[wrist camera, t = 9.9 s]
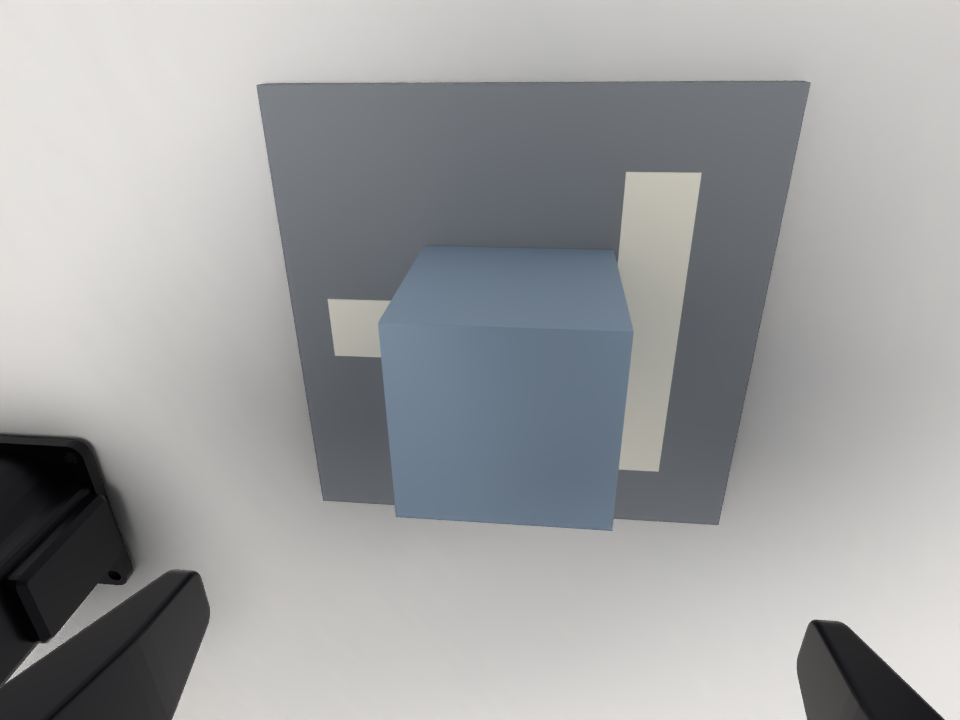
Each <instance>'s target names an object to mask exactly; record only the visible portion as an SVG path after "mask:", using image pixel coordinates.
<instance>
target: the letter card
mask: <svg viewBox="0 0 960 720" xmlns="http://www.w3.org/2000/svg"><path fill="white" fill-rule="evenodd" d="M809 87H810V82H806V81H680V82H480V83H279V84H260V85H257V92H258V98H259V104H260V110H261V117H262V123H263V129H264V135H265V141H266V148H267V154H268V160H269V166H270V173H271V179H272V185H273V191H274V197H275V204H276V210H277V216H278V222H279V228H280V235H281V241H282V247H283V253H284V260H285V266H286V272H287V278H288V284H289V291H290V297H291V303H292V309H293V315H294V322H295V328H296V334H297V340H298V347H299V353H300V359H301V365H302V371H303V378H304V384H305V390H306V396H307V402H308V409H309V415H310V421H311V427H312V434H313V440H314V446H315V452H316V458H317V465H318V471H319V477H320V483H321V490H322V496H323V501H340V502H356V503H372V504H388V505H395V499H394V489H393V478H392V468H391V457H390V446H389V436H388V425H387V415H386V404H385V393H384V383H383V372H382V362H381V351H380V340H379V330H378V322H379V320H380V318H381V317H382V315H383V313H384V312H385V310H386V308H387V307H388V305H389V303H390V302H391V300H392V298H393V297H394V295H395V293H396V292H397V290H398V288H399V287H400V285H401V283H402V282H403V280H404V278H405V277H406V275H407V273H408V272H409V270H410V268H411V266H412V265H413V263H414V261H415V260H416V258H417V256H418V255H419V253H420V251H421V250H422V248H423V246H461V247H508V248H555V249H602V250H614V253H615V257H616V261H617V265H618V269H619V273H620V277H621V282H622V286H623V290H624V294H625V298H626V302H627V306H628V310H629V314H630V318H631V322H632V326H633V331H634V334H633V343H632V352H631V361H630V370H629V379H628V389H627V398H626V407H625V416H624V425H623V434H622V443H621V453H620V462H619V471H618V480H617V489H616V498H615V508H614V517H613V519H630V520H646V521H662V522H678V523H694V524H710V525H718V524H719V519H720V514H721V510H722V505H723V500H724V495H725V490H726V486H727V481H728V476H729V471H730V466H731V462H732V457H733V452H734V447H735V442H736V438H737V433H738V428H739V423H740V418H741V414H742V409H743V404H744V399H745V394H746V390H747V385H748V380H749V375H750V370H751V366H752V361H753V356H754V351H755V346H756V342H757V337H758V332H759V327H760V322H761V318H762V313H763V308H764V303H765V298H766V294H767V289H768V284H769V279H770V274H771V270H772V265H773V260H774V255H775V250H776V246H777V241H778V236H779V231H780V226H781V222H782V217H783V212H784V207H785V202H786V198H787V193H788V188H789V183H790V178H791V174H792V169H793V164H794V159H795V154H796V150H797V145H798V140H799V135H800V130H801V126H802V121H803V116H804V111H805V106H806V102H807V97H808V92H809Z"/></svg>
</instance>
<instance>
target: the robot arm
mask: <svg viewBox="0 0 960 720" xmlns="http://www.w3.org/2000/svg"><path fill="white" fill-rule="evenodd" d="M132 574H133V567H132V565H131V562H130V559H129V556H128V554H127V551H126V548H125V545H124V542H123V540H122V537H121V534H120V531H119V528H118V526H117V523H116V520H115V517H114V515H113V512H112V509H111V506H110V503H109V501H108V498H107V495H106V492H105V489H104V487H103V484H102V481H101V478H100V476H99V473H98V470H97V467H96V464H95V462H94V459H93V456H92V453H91V451H90V449H89V448H88V447H87V446H86V445H85V444H84V443H82V442H80V441H77V440H70V439H52V438H33V437H15V436H0V720H172V718H173V715H174V713H175V711H176V708H177V706H178V703H179V700H180V698H181V695H182V692H183V690H184V687H185V684H186V682H187V679H188V676H189V674H190V671H191V668H192V666H193V663H194V660H195V658H196V655H197V653H198V650H199V647H200V645H201V642H202V639H203V637H204V634H205V631H206V629H207V626H208V623H209V619H210V606H209V603H208V599H207V596H206V593H205V589H204V586H203V582H202V579H201V576H200V575H199V574H198V573H197V572H196V571H190V570H177V569H175V570H170V571H168V572H166V573H164V574H163V575H162V576H160V577H159V578H157V579H156V580H154V581H153V582H151V583H150V584H149V585H147V586H146V587H144V588H143V589H141V590H140V591H138V592H137V593H136V594H134V595H133V596H131V597H130V598H128V599H127V600H125V601H124V602H123V603H121V604H120V605H118V606H117V607H115V608H114V609H112V610H111V611H110V612H108V613H107V614H105V615H104V616H102V617H101V618H99V619H98V620H97V621H95V622H94V623H92V624H91V625H89V626H88V627H86V628H85V629H84V630H82V631H81V632H79V633H78V634H76V635H75V636H73V637H72V638H71V639H69V640H68V641H66V642H65V643H63V644H62V645H60V646H59V647H58V648H56V649H55V650H53V651H52V652H50V653H49V654H47V655H46V656H45V657H43V658H42V659H40V660H39V661H37V662H36V663H34V664H33V665H32V666H30V667H29V668H27V669H26V670H24V671H23V672H21V673H20V674H19V675H17V676H16V677H14V678H13V679H11V680H10V681H8V682H7V683H6V681H7V680H8V679H9V678H10V677H11V675H12V674H13V673H14V672H15V671H16V669H17V668H18V667H19V666H20V665H21V663H22V662H23V661H24V660H25V659H26V657H27V656H28V655H29V654H30V653H31V651H32V650H33V649H34V648H35V647H36V645H37V644H38V643H47V642H49V641H50V640H51V639H52V638H53V637H54V636H55V635H56V634H57V632H58V631H59V630H60V629H61V628H62V626H63V625H64V624H65V623H66V621H67V620H68V619H69V618H70V617H71V615H72V614H73V613H74V612H75V610H76V609H77V608H78V607H79V606H80V604H81V603H82V602H83V601H84V599H85V598H86V597H87V596H88V595H89V593H90V592H91V591H92V590H93V588H94V587H95V586H96V585H97V584H98V583H99V584H112V585H123V584H125V583H126V582H127V581H128V579H129V578H130V577H131V575H132ZM797 674H798V680H799V684H800V689H801V693H802V698H803V703H804V707H805V712H806V716H807V720H945V719H944V718H943V717H942V716H941V715H939V714H938V713H937V712H936V711H935V710H934V709H933V708H932V707H931V706H930V705H929V704H928V703H927V702H926V701H925V700H924V699H923V698H922V697H921V696H920V695H919V694H918V693H917V692H916V691H915V690H914V689H913V688H911V687H910V686H909V685H908V684H907V683H906V682H905V681H904V680H903V679H902V678H901V677H900V676H899V675H898V674H897V673H896V672H895V671H894V670H893V669H892V668H891V667H890V666H889V665H888V664H887V663H886V662H885V661H883V660H882V659H881V658H880V657H879V656H878V655H877V654H876V653H875V652H874V651H873V650H872V649H871V648H870V647H869V646H868V645H867V644H866V643H865V642H864V641H863V640H862V639H861V638H860V637H859V636H858V635H857V634H855V633H854V632H853V631H852V630H851V629H850V628H849V627H848V626H847V625H845V624H844V623H842V622H838V621H828V620H812V621H811V622H810V623H809V625H808V627H807V630H806V633H805V636H804V639H803V642H802V645H801V648H800V651H799V654H798V658H797ZM5 683H6V684H5Z"/></svg>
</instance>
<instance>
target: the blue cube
mask: <svg viewBox="0 0 960 720" xmlns="http://www.w3.org/2000/svg"><path fill="white" fill-rule="evenodd" d="M378 330H379V340H380V351H381V362H382V372H383V383H384V393H385V404H386V415H387V425H388V436H389V446H390V457H391V468H392V478H393V489H394V499H395V510H396V517H406V518H422V519H437V520H453V521H468V522H484V523H500V524H515V525H531V526H546V527H562V528H577V529H593V530H608V531H612V526H613V517H614V508H615V498H616V489H617V480H618V471H619V462H620V453H621V443H622V434H623V425H624V416H625V407H626V398H627V389H628V379H629V370H630V361H631V352H632V343H633V334H634V331H633V326H632V322H631V318H630V314H629V310H628V306H627V302H626V298H625V294H624V290H623V286H622V282H621V277H620V273H619V269H618V265H617V261H616V257H615V253H614V250H602V249H555V248H508V247H461V246H423V248H422V250H421V251H420V253H419V255H418V256H417V258H416V260H415V261H414V263H413V265H412V266H411V268H410V270H409V272H408V273H407V275H406V277H405V278H404V280H403V282H402V283H401V285H400V287H399V288H398V290H397V292H396V293H395V295H394V297H393V298H392V300H391V302H390V303H389V305H388V307H387V308H386V310H385V312H384V313H383V315H382V317H381V318H380V320H379V322H378Z"/></svg>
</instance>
